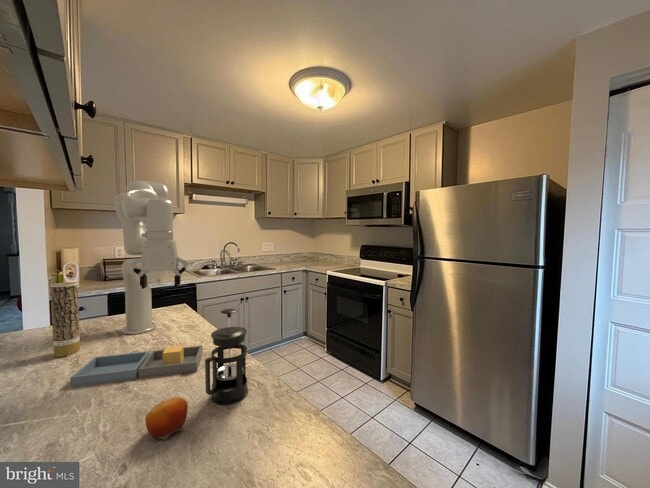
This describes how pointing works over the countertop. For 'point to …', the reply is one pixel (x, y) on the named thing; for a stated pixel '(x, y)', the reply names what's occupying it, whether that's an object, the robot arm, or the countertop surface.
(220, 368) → the french press
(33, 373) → the countertop surface
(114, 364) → the slate-blue tray
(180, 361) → the ochre block
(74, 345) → the paper tube
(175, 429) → the fruit
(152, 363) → the charcoal tray
